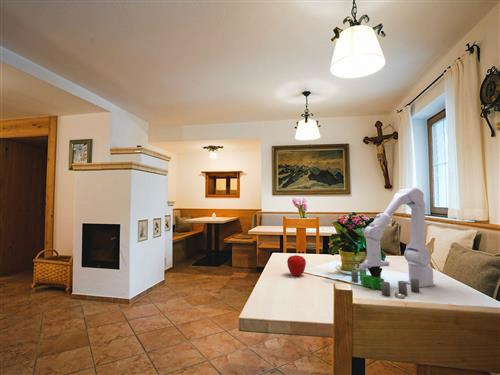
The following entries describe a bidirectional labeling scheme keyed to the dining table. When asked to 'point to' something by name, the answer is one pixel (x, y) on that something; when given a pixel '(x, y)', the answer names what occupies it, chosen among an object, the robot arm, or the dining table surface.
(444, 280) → the dining table surface
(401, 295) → the steel nut
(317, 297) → the dining table surface
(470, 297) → the dining table surface
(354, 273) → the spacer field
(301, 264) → the red rounded piece
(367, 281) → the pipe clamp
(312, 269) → the dining table surface
